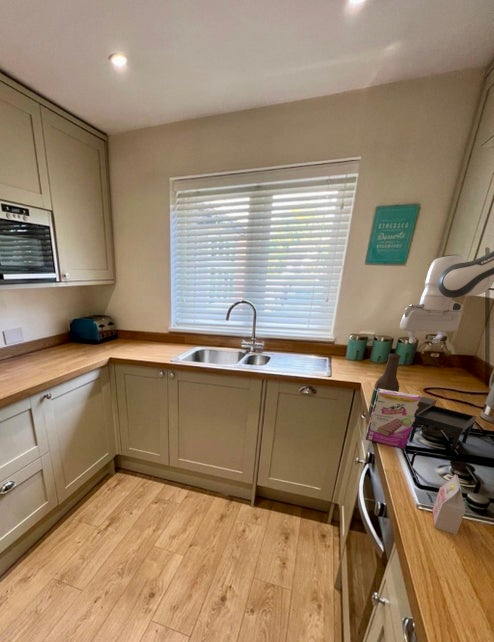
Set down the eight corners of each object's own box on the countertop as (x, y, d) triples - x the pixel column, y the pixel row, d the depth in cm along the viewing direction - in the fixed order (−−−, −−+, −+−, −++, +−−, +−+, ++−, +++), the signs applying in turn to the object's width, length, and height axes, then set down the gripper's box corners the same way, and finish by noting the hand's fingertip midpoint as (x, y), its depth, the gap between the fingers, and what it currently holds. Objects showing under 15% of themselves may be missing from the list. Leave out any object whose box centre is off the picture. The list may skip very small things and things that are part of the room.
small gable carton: (452, 515, 72) (467, 476, 68) (456, 534, 67) (472, 493, 63) (432, 509, 74) (445, 471, 70) (433, 527, 68) (448, 486, 65)
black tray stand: (466, 442, 105) (476, 416, 102) (453, 456, 96) (463, 428, 93) (423, 429, 114) (431, 404, 111) (407, 441, 105) (414, 414, 102)
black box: (433, 411, 130) (436, 400, 128) (426, 416, 125) (429, 404, 123) (418, 408, 134) (422, 396, 132) (411, 412, 129) (414, 400, 127)
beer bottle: (393, 417, 124) (410, 354, 115) (388, 423, 118) (405, 357, 110) (370, 411, 128) (385, 350, 120) (364, 417, 123) (379, 354, 115)
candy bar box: (365, 440, 105) (376, 392, 99) (365, 434, 109) (377, 387, 103) (406, 450, 100) (421, 399, 94) (405, 443, 104) (420, 394, 98)
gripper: (413, 304, 114) (403, 344, 119) (468, 305, 116) (455, 344, 120) (400, 303, 120) (391, 341, 124) (452, 304, 121) (441, 341, 126)
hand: (423, 343), depth 122 cm, fingers open, 8 cm apart
